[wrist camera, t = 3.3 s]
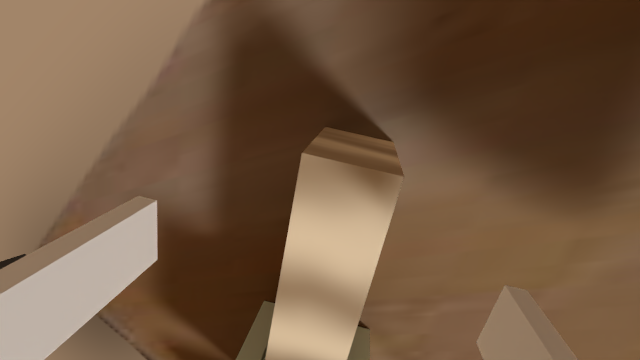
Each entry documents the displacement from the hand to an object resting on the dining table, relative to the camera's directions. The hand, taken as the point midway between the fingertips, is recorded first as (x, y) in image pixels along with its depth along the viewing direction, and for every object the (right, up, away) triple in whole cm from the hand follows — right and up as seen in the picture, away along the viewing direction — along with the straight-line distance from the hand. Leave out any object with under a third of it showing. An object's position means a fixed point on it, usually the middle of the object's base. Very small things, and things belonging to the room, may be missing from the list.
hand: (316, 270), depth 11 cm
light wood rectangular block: (+1, -1, +13) cm, 13 cm away
